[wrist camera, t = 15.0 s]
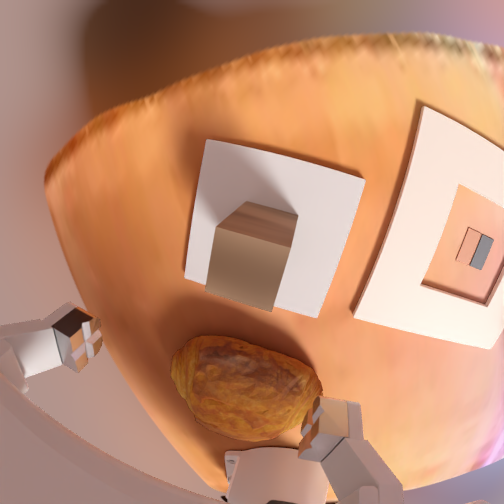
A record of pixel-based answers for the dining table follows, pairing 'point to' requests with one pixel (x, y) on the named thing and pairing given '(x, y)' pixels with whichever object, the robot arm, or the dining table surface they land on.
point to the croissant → (243, 387)
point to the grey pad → (282, 198)
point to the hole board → (436, 238)
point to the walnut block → (251, 255)
